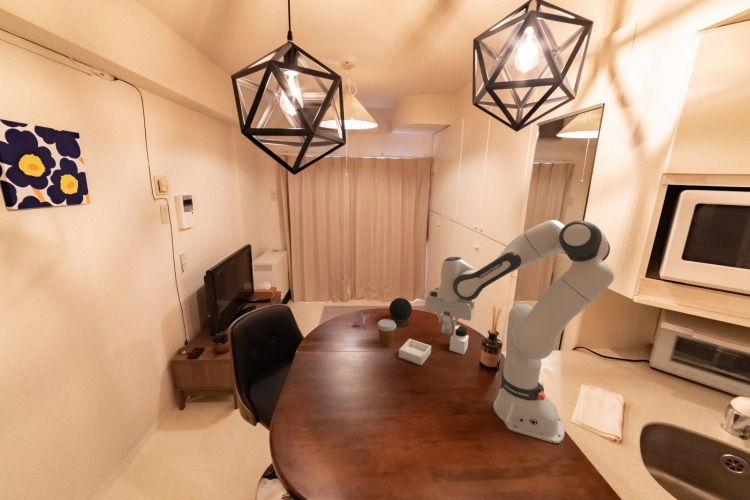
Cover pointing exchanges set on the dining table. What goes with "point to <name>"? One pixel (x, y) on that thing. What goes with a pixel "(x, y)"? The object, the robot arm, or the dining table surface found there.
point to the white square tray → (415, 351)
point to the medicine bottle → (459, 340)
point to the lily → (361, 319)
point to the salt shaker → (447, 323)
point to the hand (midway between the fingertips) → (447, 323)
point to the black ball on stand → (400, 312)
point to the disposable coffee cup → (386, 332)
